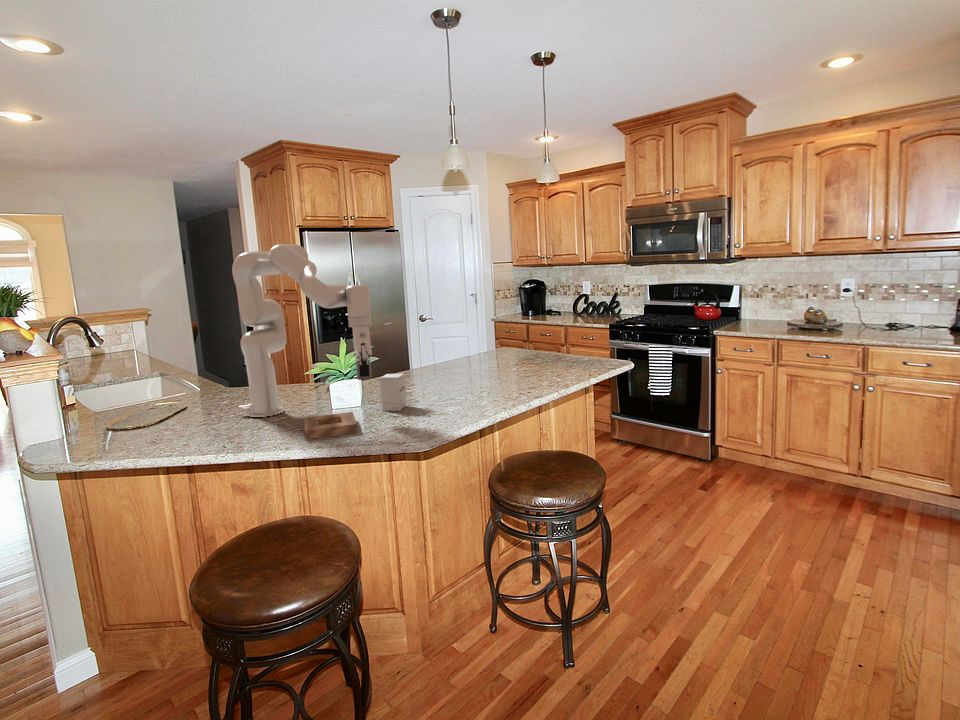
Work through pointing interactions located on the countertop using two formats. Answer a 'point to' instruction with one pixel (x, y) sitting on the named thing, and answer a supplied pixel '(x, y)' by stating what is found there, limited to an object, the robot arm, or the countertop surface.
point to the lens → (358, 368)
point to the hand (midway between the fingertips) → (363, 374)
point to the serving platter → (137, 425)
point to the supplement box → (393, 392)
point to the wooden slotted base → (330, 425)
